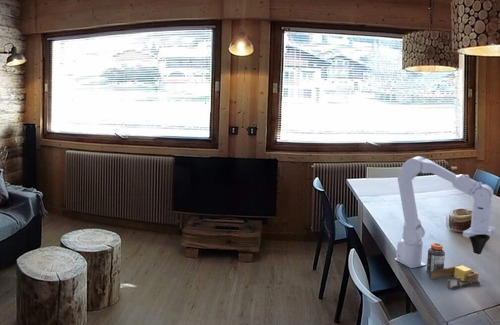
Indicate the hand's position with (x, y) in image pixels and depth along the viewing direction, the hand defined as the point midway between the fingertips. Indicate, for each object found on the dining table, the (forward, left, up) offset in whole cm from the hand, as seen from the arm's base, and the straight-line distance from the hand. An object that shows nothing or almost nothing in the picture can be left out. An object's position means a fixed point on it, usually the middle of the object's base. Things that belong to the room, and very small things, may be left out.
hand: (477, 253), depth 143 cm
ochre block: (-3, -3, -10) cm, 11 cm away
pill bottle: (-11, -9, -11) cm, 17 cm away
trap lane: (-3, -7, -10) cm, 13 cm away
